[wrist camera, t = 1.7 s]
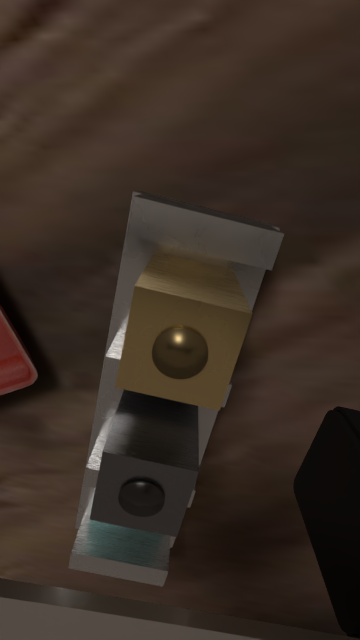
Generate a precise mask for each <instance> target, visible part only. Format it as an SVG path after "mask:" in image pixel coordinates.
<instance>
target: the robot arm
mask: <svg viewBox="0 0 360 640" xmlns="http://www.w3.org/2000/svg"><path fill="white" fill-rule="evenodd" d="M294 493H295V496H296V499H297V502H298V505H299V508H300V511H301V514H302V517H303V520H304V523H305V526H306V529H307V532H308V534H309V537H310V540H311V543H312V546H313V549H314V552H315V555H316V558H317V561H318V564H319V567H320V570H321V573H322V576H323V579H324V582H325V585H326V588H327V591H328V594H329V597H330V600H331V603H332V606H333V609H334V612H335V615H336V617H337V620H338V623H339V625H340V627H341V629H342V630H343V631H344V632H346V633H347V635H348V637H347V636H341V635H336V634H330V633H324V632H318V631H313V630H307V629H301V628H295V627H290V626H284V625H278V624H272V623H267V622H261V621H255V620H249V619H244V618H238V617H232V616H226V615H220V614H214V613H208V612H202V611H196V610H190V609H184V608H178V607H173V606H167V605H161V604H155V603H149V602H143V601H137V600H131V599H125V598H119V597H113V596H107V595H101V594H95V593H89V592H83V591H77V590H71V589H64V588H58V587H52V586H46V585H40V584H33V583H27V582H21V581H15V580H9V579H2V578H0V640H360V411H357V410H353V409H348V408H344V407H339V406H338V407H336V408H334V409H333V410H329V411H328V412H327V414H326V415H325V417H324V420H323V422H322V424H321V426H320V428H319V430H318V432H317V434H316V436H315V438H314V440H313V442H312V444H311V446H310V448H309V450H308V452H307V454H306V456H305V458H304V460H303V463H302V465H301V467H300V469H299V471H298V473H297V475H296V477H295V479H294Z"/></svg>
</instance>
